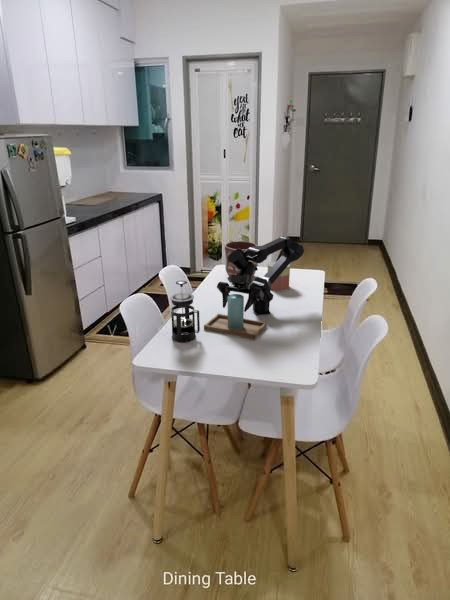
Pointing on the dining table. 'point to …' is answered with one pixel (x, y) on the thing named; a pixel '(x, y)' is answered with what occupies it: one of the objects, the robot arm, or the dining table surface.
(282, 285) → the canned food
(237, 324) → the tumbler
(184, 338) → the french press
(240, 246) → the pottery
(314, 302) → the dining table surface
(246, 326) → the tray
